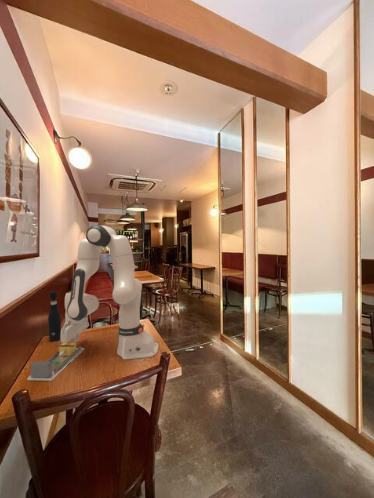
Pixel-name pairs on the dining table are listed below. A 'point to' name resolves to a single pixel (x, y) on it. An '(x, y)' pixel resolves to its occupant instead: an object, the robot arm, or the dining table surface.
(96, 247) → the robot arm
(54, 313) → the wine bottle
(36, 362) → the track
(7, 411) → the dining table surface
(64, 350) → the block
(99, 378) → the dining table surface
